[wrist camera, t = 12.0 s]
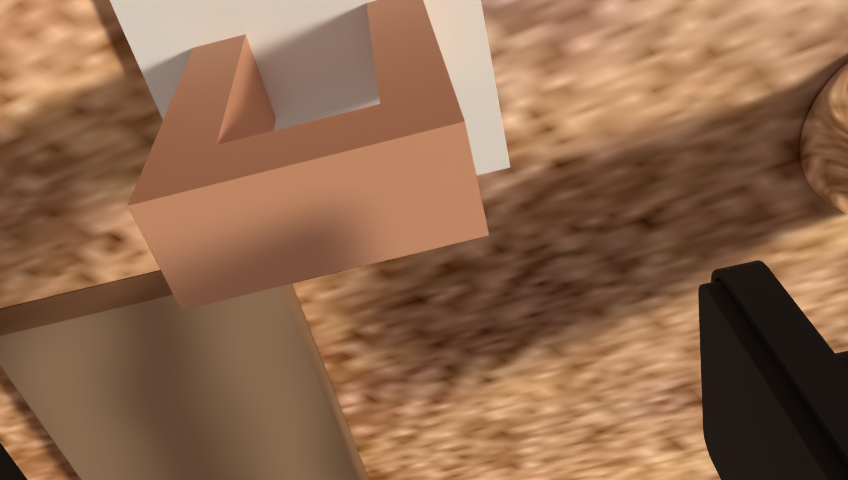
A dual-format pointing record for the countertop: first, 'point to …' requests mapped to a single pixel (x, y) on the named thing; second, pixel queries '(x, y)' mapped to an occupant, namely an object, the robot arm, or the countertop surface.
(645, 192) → the countertop surface
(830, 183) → the beer glass
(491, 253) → the countertop surface
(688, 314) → the countertop surface
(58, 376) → the stand
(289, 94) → the trivet
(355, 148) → the link
